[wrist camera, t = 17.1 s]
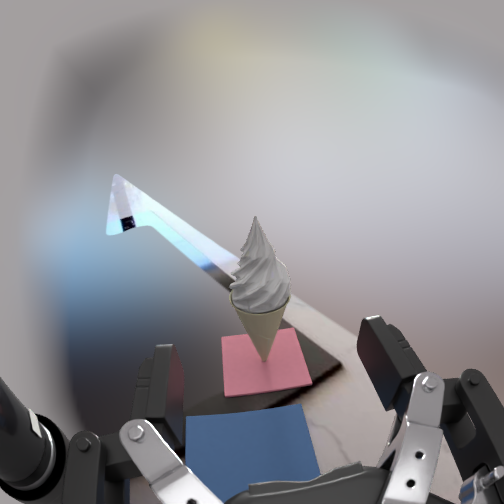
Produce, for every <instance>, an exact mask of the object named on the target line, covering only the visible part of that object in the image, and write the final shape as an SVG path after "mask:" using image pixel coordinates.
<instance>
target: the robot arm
mask: <svg viewBox="0 0 504 504" xmlns="http://www.w3.org/2000/svg"><path fill="white" fill-rule="evenodd" d="M357 352H358V355H359V357H360V359H361V361H362V363H363V365H364V367H365V369H366V371H367V373H368V375H369V377H370V379H371V381H372V383H373V386H374V388H375V390H376V392H377V394H378V396H379V398H380V400H381V402H382V404H383V406H384V408H385V411H389V410H392V409H395V411H396V415H395V418H394V421H393V424H392V428H391V431H390V434H389V437H388V440H387V443H386V446H385V449H384V451H383V454H382V456H381V457H380V459H379V461H378V463H377V466H376V467H369V466H362V464H361V462H360V461H359V462H356V463H352V464H349V465H346V466H342V467H338V468H335V469H333V470H331V471H329V472H327V473H325V474H323V475H321V476H318V477H316V478H314V479H312V480H310V481H278V480H277V481H270V482H262V483H254V484H248V487H249V489H248V490H245V491H242V492H240V493H238V494H236V495H234V496H233V497H231V498H230V499H228V500H227V501H226V502H225V503H223V502H222V501H221V500H219V499H218V498H217V497H216V496H215V495H214V494H213V493H212V492H211V491H210V490H209V489H208V488H207V487H206V486H205V485H204V484H203V483H202V482H201V481H200V480H199V479H198V478H197V477H196V475H195V474H194V473H193V472H192V471H191V470H190V469H189V468H188V467H187V466H186V465H185V464H184V463H183V462H182V461H181V460H180V459H179V458H178V456H177V455H176V454H175V453H174V445H182V422H183V395H184V372H183V368H182V364H181V362H180V359H179V356H178V353H177V350H176V347H175V345H174V344H168V345H156V347H155V352H154V358H146V359H145V360H144V361H143V363H142V364H141V366H140V368H139V372H138V380H137V382H136V388H135V393H134V399H133V404H132V411H131V416H130V420H129V422H127V423H126V424H125V425H124V426H123V427H122V428H121V430H120V431H118V432H116V433H112V434H108V435H103V436H99V437H98V436H97V435H96V434H94V433H93V432H90V431H81V432H78V433H77V434H75V435H74V436H73V437H72V439H71V441H70V444H69V449H68V455H67V462H66V469H65V476H64V484H63V494H62V504H130V478H134V477H139V476H144V477H145V478H146V480H147V481H148V483H149V486H150V488H151V489H152V491H153V492H154V493H155V495H156V496H157V497H158V498H159V500H160V501H161V502H162V503H163V504H454V503H452V502H450V501H448V500H445V499H443V498H441V497H439V496H437V495H434V494H432V493H430V492H429V491H430V488H431V484H432V481H433V477H434V473H435V469H436V465H437V461H438V457H439V452H440V447H441V442H442V437H443V434H444V437H445V439H446V441H447V443H448V446H449V448H450V450H451V453H452V455H453V457H454V460H455V462H456V465H457V467H458V470H459V472H460V475H461V477H462V480H463V484H462V486H461V489H460V494H459V499H460V501H461V504H504V407H503V406H502V404H501V402H500V401H499V399H498V397H497V396H496V394H495V392H494V391H493V389H492V388H491V386H490V384H489V383H488V381H487V379H486V378H485V376H484V375H483V374H482V373H481V372H480V371H478V370H476V369H467V370H465V371H464V372H463V373H462V374H461V376H460V377H459V378H452V379H442V378H441V377H440V376H439V375H437V374H435V373H433V372H427V370H426V369H425V367H424V366H423V364H422V363H421V361H420V360H419V358H418V357H417V355H416V354H415V352H414V351H413V349H412V348H411V347H410V345H409V343H408V342H407V340H405V337H404V336H403V334H402V333H401V331H400V330H398V329H397V328H396V327H394V326H393V325H391V324H389V325H386V323H385V322H384V320H383V319H382V317H381V316H379V315H378V316H373V317H369V318H364V319H363V320H362V322H361V327H360V331H359V336H358V340H357ZM467 412H468V414H469V416H470V417H469V416H468V414H467ZM470 418H471V419H470ZM471 420H472V421H471ZM472 422H473V423H472ZM473 424H474V425H473ZM474 426H475V427H474ZM55 460H56V447H55V442H54V440H53V437H52V435H51V434H50V432H49V431H48V430H47V429H46V428H45V427H44V426H43V425H42V424H41V423H40V422H39V421H38V420H37V416H36V415H35V414H34V413H33V412H32V411H31V410H30V409H29V411H28V410H27V409H26V407H24V405H23V404H22V403H21V402H20V401H19V399H18V398H17V397H16V396H15V395H14V394H13V392H12V391H11V390H10V389H9V387H8V386H7V385H6V384H5V382H4V381H3V380H2V379H1V377H0V478H1V479H2V480H3V481H4V482H6V483H7V484H8V485H10V486H12V487H13V488H15V489H18V490H24V491H27V490H33V489H35V488H38V487H39V486H41V485H42V484H43V483H44V482H45V481H46V480H47V479H48V478H49V476H50V475H51V473H52V471H53V468H54V465H55Z"/></svg>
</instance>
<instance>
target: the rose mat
mask: <svg viewBox="0 0 504 504" xmlns="http://www.w3.org/2000/svg"><path fill="white" fill-rule="evenodd" d="M221 339H222V357H223V375H224V391H225V398H226V397H236V396H245V395H253V394H260V393H267V392H274V391H281V390H287V389H293V388H298V387H304V386H309V385H312V381H311V378H310V375H309V372H308V369H307V366H306V363H305V360H304V357H303V354H302V351H301V348H300V345H299V342H298V339H297V336H296V333H295V330H294V328H288V329H281V330H278V331H277V334H276V337H275V340H274V342H273V345H272V348H271V350H270V353H269V356H268V359H267V361H265V362H263V361H262V359H261V358H260V356H259V354H258V352H257V350H256V348H255V346H254V345H253V343H252V341H251V339H250V337H249V335H248V334H245V335H236V336H227V337H222V338H221Z"/></svg>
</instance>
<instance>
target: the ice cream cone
mask: <svg viewBox="0 0 504 504" xmlns="http://www.w3.org/2000/svg"><path fill="white" fill-rule="evenodd" d="M241 251H242V252H244V253H243V254H242V257H241V259H240V261H239V262H238V263H237V264H238V265H239V266H240V268H238V269H236V270H234V271H233V272H231V275H233V276H236V278H237V279H236V282H234V283H231V284H230V289H233V290H232V291H231V293H230V296H229V299H230V303H231V305H232V306H233V307H234V308H235V310H236V311H237V314H238V316H239V318H240V320H241V322H242V324H243V325H244V328H245V329H246V331H247V333H248V335H249V337H250V339H251V341H252V343H253V345H254V346H255V348H256V350H257V352H258V354H259V356H260V358H261V359H262V361H263V362H265V361H267V359H268V356H269V353H270V350H271V348H272V345H273V342H274V340H275V337H276V334H277V331H278V328H279V325H280V322H281V319H282V317H283V314H284V311H285V308H286V305H287V304H288V302H289V300H290V297H291V283H290V276H289V273H288V270H287V267H286V266H285V265H284V264H283V263H282V262H281V261H279V260H278V259H277V258H276V255H275V252H276V251H275V250H274V248H273V245H272V244H271V243H270V242H269V241H268V239H267V238H266V235H265V233H264V232H263V230H262V228H261V226H260V224H259V222H258V220H257V217H256V216H255V217H254V220H253V224H252V227H251V230H250V233H249V235H248V238H247V241H246V243H245V244H244V246H243V247H242V248H241Z"/></svg>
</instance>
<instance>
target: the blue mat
mask: <svg viewBox="0 0 504 504" xmlns="http://www.w3.org/2000/svg"><path fill="white" fill-rule="evenodd" d="M186 466H187V467H188V468H189V469H190V470H191V471H192V472H193V473H194V474H195V475H196V477H197V478H198V479H199V480H200V481H201V482H202V483H203V484H204V485H205V486H206V487H207V488H208V489H209V490H210V491H211V492H212V493H213V494H214V495H215V496H216V497H217V498H218V499H219V500H221V501H222V502H223V503H225V502H226V501H227V500H228V499H230V498H231V497H233V496H234V495H236V494H238V493H240V492H242V491H245V490H248V489H249V487H248V484H254V483H262V482H270V481H277V480H278V481H310V480H312V479H314V478H316V477H318V476H321V475H320V471H319V467H318V463H317V460H316V456H315V452H314V449H313V445H312V441H311V438H310V434H309V431H308V427H307V423H306V420H305V416H304V412H303V409H302V405H301V404H296V405H290V406H284V407H278V408H272V409H265V410H258V411H250V412H241V413H231V414H220V415H207V416H188V417H186Z"/></svg>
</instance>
